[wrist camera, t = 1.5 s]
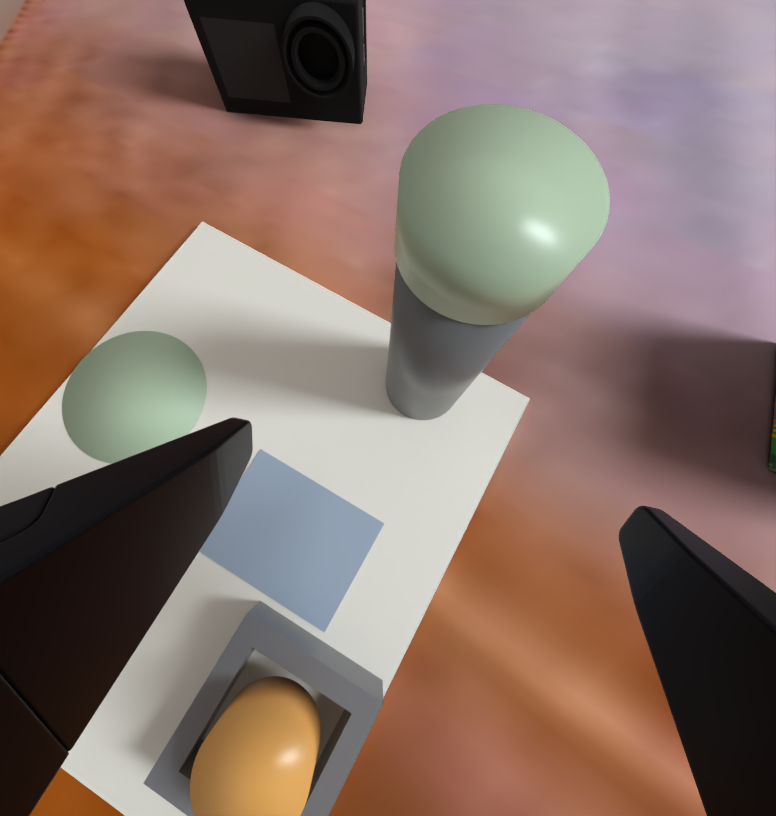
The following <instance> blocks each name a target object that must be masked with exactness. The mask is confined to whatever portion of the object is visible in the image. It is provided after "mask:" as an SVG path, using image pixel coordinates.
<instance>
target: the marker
mask: <svg viewBox="0 0 776 816" xmlns="http://www.w3.org/2000/svg"><path fill="white" fill-rule="evenodd" d="M609 208H610V195H609V187H608V183H607V180H606V176H605V174H604V172H603V169H602V167H601V165H600V163H599V162H598V160H597V158H596V156H595V155H594V154H593V152H592V151H591V150H590V148H589V147H588V146H587V145H586V144H585V143H584V142H583V141H582V140H581V139H580V138H579V137H578V136H577V135H576V134H574V133H573V132H572V131H571V130H570V129H568V128H567V127H565V126H564V125H562V124H560V123H559V122H557V121H555V120H553V119H551V118H549V117H548V116H545V115H543V114H540V113H538V112H535V111H532V110H528V109H525V108H521V107H515V106H510V105H499V104H484V105H476V106H469V107H465V108H461V109H457V110H455V111H452V112H449V113H447V114H445V115H443V116H441V117H439V118H437V119H435V120H434V121H432V122H431V123H429V124H428V125H427V126H426V127H424V128H423V129H422V130H421V131H420V132H419V133H418V134H417V135H416V137H415V138H414V139H413V140H412V142H411V143H410V145H409V147H408V148H407V150H406V152H405V155H404V157H403V159H402V163H401V167H400V173H399V187H398V201H397V214H396V228H395V241H394V250H395V258H396V271H395V282H394V294H393V305H392V317H391V328H390V339H389V351H388V362H387V373H386V391H387V395H388V398H389V400H390V402H391V403H392V405H393V406H394V407H395V408H396V409H397V410H398V411H399V412H400V413H402V414H403V415H405V416H407V417H409V418H412V419H416V420H431V419H435V418H438V417H440V416H442V415H443V414H445V413H446V412H447V411H448V410H450V408H451V407H452V406H453V405H454V404H455V402H456V401H457V400H458V399H459V398H460V397H461V395H462V394H463V393H464V392H465V391H466V389H467V388H468V387H469V386H470V385H471V383H472V382H473V381H474V380H475V379H476V378H477V376H478V375H479V374H480V373H481V372H482V370H483V369H484V368H485V367H486V366H487V364H488V363H489V362H490V361H491V360H492V359H493V357H494V356H495V355H496V354H497V353H498V351H499V350H500V349H501V348H502V347H503V345H504V344H505V343H506V342H507V341H508V340H509V338H510V337H511V336H512V335H513V334H514V332H515V331H516V330H517V329H518V328H519V326H520V325H521V324H522V323H523V322H524V321H525V319H526V318H527V317H528V316H529V315H530V313H532V312H533V311H535V310H536V309H538V308H539V307H540V306H541V305H542V304H543V303H545V301H546V300H547V299H548V298H549V297H550V296H551V294H552V293H553V292H554V291H555V290H556V289H557V288H558V286H559V285H560V284H561V283H562V282H563V281H564V279H565V278H566V277H567V276H568V275H569V274H570V273H571V271H572V270H573V269H574V268H575V267H576V266H577V264H578V263H579V262H580V261H581V260H582V259H583V258H584V256H585V255H586V254H587V253H588V252H589V251H590V249H591V248H592V247H593V246H594V245H595V244H596V242H597V241H598V239H599V238H600V236H601V234H602V233H603V230H604V228H605V225H606V223H607V219H608V215H609Z"/></svg>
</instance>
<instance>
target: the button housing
mask: <svg viewBox="0 0 776 816" xmlns="http://www.w3.org/2000/svg"><path fill="white" fill-rule="evenodd" d="M255 649H256V650H257V651H259V652H260V653H262V654H263V655H265V656H266V657H268V658H269V659H271V660H272V661H274V662H275V663H277V664H278V665H280V666H281V667H283V668H284V669H286V670H287V671H289V672H290V673H292V674H293V675H295V676H296V677H298V678H299V679H301V680H302V681H304V682H305V683H307V684H308V685H310V686H311V687H313V688H314V689H316V690H317V691H319V692H320V693H322V694H323V695H325V696H326V697H328V698H329V699H331V700H332V701H334V702H335V703H337V704H338V705H340V706H341V707H343V708H344V711H343V713H342V715H341V717H340V719H339V721H338V723H337V725H336V726H335V728H334V730H333V732H332V734H331V736H330V738H329V740H328V742H327V744H326V746H325V748H324V750H323V752H322V754H321V756H320V758H319V760H318V762H317V764H316V766H315V768H314V772H313V777H312V781H311V786H310V790H309V795H308V798H307V801H306V804H305V807H304V809H303V811H302V814H301V815H300V816H328V815H329V813H330V811H331V809H332V807H333V805H334V803H335V801H336V799H337V797H338V795H339V793H340V791H341V789H342V787H343V785H344V782H345V780H346V778H347V776H348V774H349V772H350V770H351V768H352V766H353V764H354V762H355V760H356V758H357V756H358V754H359V752H360V750H361V748H362V746H363V744H364V742H365V740H366V737H367V735H368V733H369V731H370V729H371V727H372V725H373V723H374V721H375V719H376V717H377V715H378V713H379V711H380V709H381V707H382V705H383V680H382V679H380V678H378V677H377V676H375V675H374V674H372V673H371V672H369V671H368V670H366V669H365V668H363V667H362V666H360V665H358V664H357V663H355V662H354V661H352V660H351V659H349V658H348V657H346V656H345V655H343V654H342V653H340V652H338V651H337V650H335V649H334V648H332V647H331V646H329V645H328V644H326V643H325V642H323V641H322V640H320V639H318V638H317V637H315V636H314V635H312V634H311V633H309V632H308V631H306V630H305V629H303V628H302V627H300V626H298V625H297V624H295V623H294V622H292V621H291V620H289V619H288V618H286V617H285V616H283V615H282V614H280V613H278V612H277V611H275V610H274V609H272V608H271V607H269V606H268V605H266V604H265V603H263V602H262V601H260V602H259V603H258V604H256V605H255V606H254V607H253V608H252V609H251V610H250V611H249V612H247V614H246V615H245V617H244V619H243V620H242V622H241V623H240V625H239V627H238V628H237V630H236V632H235V633H234V635H233V637H232V638H231V640H230V642H229V643H228V645H227V646H226V648H225V650H224V651H223V653H222V655H221V656H220V658H219V660H218V661H217V663H216V665H215V666H214V668H213V669H212V671H211V673H210V674H209V676H208V678H207V679H206V681H205V683H204V684H203V686H202V688H201V689H200V691H199V692H198V694H197V696H196V697H195V699H194V701H193V702H192V704H191V706H190V707H189V709H188V711H187V712H186V714H185V715H184V717H183V719H182V720H181V722H180V724H179V725H178V727H177V729H176V730H175V732H174V734H173V735H172V737H171V738H170V740H169V742H168V743H167V745H166V747H165V748H164V750H163V752H162V753H161V755H160V757H159V758H158V760H157V761H156V763H155V765H154V766H153V768H152V770H151V771H150V773H149V775H148V776H147V778H146V780H145V781H144V783H143V784H145V785H146V786H147V787H149V788H150V789H152V790H153V791H154V792H156V793H157V794H158V795H160V796H161V797H162V798H164V799H165V800H166V801H168V802H169V803H171V804H172V805H173V806H175V807H176V808H177V809H179V810H180V811H181V812H183V813H184V814H186V815H187V816H194V813H193V810H192V805H191V800H190V779H191V773H192V768H193V764H194V761H195V758H196V756H197V753H198V751H199V749H200V747H201V745H202V743H203V742H204V741H203V740H201V739H202V738H203V736H204V734H205V733H206V731H207V729H208V728H209V726H210V724H211V722H212V721H213V719H214V717H215V716H216V714H217V712H218V711H219V709H220V707H221V706H222V704H223V702H224V700H225V699H226V697H227V695H228V694H229V692H230V690H231V689H232V687H233V685H234V683H235V682H236V680H237V678H238V677H239V675H240V673H241V672H242V670H243V668H244V666H245V665H246V663H247V661H248V660H249V658H250V656H251V655H252V653H253V651H254V650H255Z"/></svg>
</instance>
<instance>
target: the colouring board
mask: <svg viewBox="0 0 776 816" xmlns="http://www.w3.org/2000/svg"><path fill="white" fill-rule="evenodd" d="M390 328H391V323H389V322H387V321H385V320H384V319H382V318H380V317H378V316H376V315H374V314H373V313H371V312H369V311H367V310H365V309H363V308H361V307H360V306H358V305H356V304H354V303H352V302H350V301H348V300H347V299H345V298H343V297H341V296H339V295H337V294H336V293H334V292H332V291H330V290H328V289H326V288H324V287H323V286H321V285H319V284H317V283H315V282H313V281H311V280H310V279H308V278H306V277H304V276H302V275H300V274H299V273H297V272H295V271H293V270H291V269H289V268H287V267H286V266H284V265H282V264H280V263H278V262H276V261H274V260H273V259H271V258H269V257H267V256H265V255H263V254H262V253H260V252H258V251H256V250H254V249H252V248H250V247H249V246H247V245H245V244H243V243H241V242H239V241H237V240H236V239H234V238H232V237H230V236H228V235H226V234H225V233H223V232H221V231H219V230H217V229H215V228H213V227H212V226H210V225H208V224H206V223H204V222H202V223H201V224H200V225H199V226H198V227H197V228H196V230H195V231H194V232H193V233H192V234H191V235H190V237H189V238H188V239H187V240H186V241H185V242H184V243H183V245H182V246H181V247H180V248H179V249H178V250H177V252H176V253H175V254H174V255H173V256H172V257H171V259H170V260H169V261H168V262H167V263H166V264H165V266H164V267H163V268H162V269H161V270H160V271H159V272H158V274H157V275H156V276H155V277H154V278H153V279H152V281H151V282H150V283H149V284H148V285H147V286H146V288H145V289H144V290H143V291H142V292H141V293H140V295H139V296H138V297H137V298H136V299H135V300H134V301H133V303H132V304H131V305H130V306H129V307H128V308H127V310H126V311H125V312H124V313H123V314H122V315H121V317H120V318H119V319H118V320H117V321H116V322H115V324H114V325H113V326H112V327H111V328H110V329H109V330H108V332H107V333H106V334H105V335H104V336H103V337H102V339H101V340H100V341H99V342H98V343H97V344H96V346H95V347H94V348H93V349H92V350H91V351H90V352H89V353H88V354H87V355H86V356H85V357H84V358H83V359H82V360H81V361H80V362H79V364H78V365H77V366H76V368H75V369H74V371H73V372H72V373H71V375H70V376H69V377H68V378H67V379H66V380H65V382H64V383H63V384H62V385H61V386H60V387H59V388H58V390H57V391H56V392H55V393H54V394H53V395H52V397H51V398H50V399H49V400H48V401H47V402H46V404H45V405H44V406H43V407H42V408H41V409H40V411H39V412H38V413H37V414H36V415H35V416H34V417H33V419H32V420H31V421H30V422H29V423H28V424H27V426H26V427H25V428H24V429H23V430H22V431H21V433H20V434H19V435H18V436H17V437H16V438H15V440H14V441H13V442H12V443H11V444H10V445H9V446H8V448H7V449H6V450H5V451H4V452H3V453H2V455H1V456H0V506H2V505H5V504H8V503H10V502H13V501H16V500H18V499H21V498H24V497H27V496H29V495H32V494H34V493H37V492H39V491H42V490H45V489H47V488H50V487H54V488H55V487H56V485H58V484H60V483H63V482H66V481H68V480H71V479H73V478H76V477H78V476H81V475H84V474H86V473H89V472H91V471H94V470H97V469H99V468H102V467H104V466H107V465H110V464H112V463H115V462H117V461H120V460H123V459H125V458H128V457H130V456H133V455H136V454H138V453H141V452H143V451H146V450H149V449H151V448H154V447H156V446H159V445H161V444H164V443H167V442H169V441H172V440H174V439H177V438H180V437H182V436H185V435H187V434H190V433H193V432H195V431H198V430H200V429H203V428H205V427H208V426H211V425H213V424H216V423H218V422H221V421H224V420H226V419H229V418H232V417H235V418H240V419H245V420H249V421H250V422H251V424H252V442H253V451H252V456H251V458H250V461H249V463H248V465H247V467H246V469H245V471H244V473H243V475H242V477H241V479H240V481H239V483H238V485H237V487H236V489H235V491H234V493H233V495H232V497H231V499H230V501H229V503H228V505H227V507H226V509H225V511H224V513H223V514H222V516H221V518H220V519H219V521H218V523H217V524H216V526H215V527H214V529H213V531H212V532H211V534H210V535H209V537H208V538H207V540H206V541H205V543H204V545H203V546H202V548H201V549H200V551H199V552H198V554H197V555H196V557H195V559H194V560H193V562H192V563H191V565H190V566H189V568H188V569H187V571H186V573H185V574H184V576H183V577H182V579H181V580H180V582H179V583H178V585H177V586H176V588H175V590H174V591H173V593H172V594H171V596H170V597H169V599H168V600H167V602H166V604H165V605H164V607H163V608H162V610H161V611H160V613H159V614H158V616H157V618H156V619H155V621H154V622H153V624H152V625H151V627H150V628H149V630H148V632H147V633H146V635H145V636H144V638H143V639H142V641H141V642H140V644H139V646H138V647H137V649H136V650H135V652H134V653H133V655H132V656H131V658H130V659H129V661H128V663H127V664H126V666H125V667H124V669H123V670H122V672H121V673H120V675H119V677H118V678H117V680H116V681H115V683H114V684H113V686H112V687H111V689H110V691H109V692H108V694H107V695H106V697H105V698H104V700H103V701H102V703H101V705H100V706H99V708H98V709H97V711H96V712H95V714H94V715H93V717H92V719H91V720H90V722H89V723H88V725H87V726H86V728H85V729H84V731H83V733H82V734H81V736H80V737H79V739H78V740H77V742H76V743H75V745H74V746H73V748H72V749H71V750H70V751H68V752H69V755H68V756H67V758H66V759H65V761H64V763H63V764H62V766H61V768H62V769H64V770H65V771H66V772H68V773H69V774H70V775H72V776H73V777H74V778H76V779H77V780H78V781H80V782H81V783H82V784H84V785H85V786H86V787H88V788H89V789H90V790H92V791H93V792H94V793H96V794H97V795H98V796H100V797H101V798H102V799H104V800H105V801H106V802H108V803H109V804H110V805H112V806H113V807H114V808H116V809H117V810H118V811H120V812H121V813H122V814H124V815H125V816H187V815H186V814H184V813H183V812H181V811H180V810H179V809H177V808H176V807H175V806H173V805H172V804H171V803H169V802H168V801H166V800H165V799H164V798H162V797H161V796H160V795H158V794H157V793H156V792H154V791H153V790H152V789H150V788H149V787H147V786H146V785H145V784H143V783H144V781H145V780H146V778H147V776H148V775H149V773H150V771H151V770H152V768H153V766H154V765H155V763H156V761H157V760H158V758H159V757H160V755H161V753H162V752H163V750H164V748H165V747H166V745H167V743H168V742H169V740H170V738H171V737H172V735H173V734H174V732H175V730H176V729H177V727H178V725H179V724H180V722H181V720H182V719H183V717H184V715H185V714H186V712H187V711H188V709H189V707H190V706H191V704H192V702H193V701H194V699H195V697H196V696H197V694H198V692H199V691H200V689H201V688H202V686H203V684H204V683H205V681H206V679H207V678H208V676H209V674H210V673H211V671H212V669H213V668H214V666H215V665H216V663H217V661H218V660H219V658H220V656H221V655H222V653H223V651H224V650H225V648H226V646H227V645H228V643H229V642H230V640H231V638H232V637H233V635H234V633H235V632H236V630H237V628H238V627H239V625H240V623H241V622H242V620H243V619H244V617H245V615H246V614H247V612H249V611H250V610H251V609H252V608H253V607H254V606H255V605H256V604H258V603H259V602H260V601H262V602H263V603H265V604H266V605H268V606H269V607H271V608H272V609H274V610H275V611H277V612H278V613H280V614H282V615H283V616H285V617H286V618H288V619H289V620H291V621H292V622H294V623H295V624H297V625H298V626H300V627H302V628H303V629H305V630H306V631H308V632H309V633H311V634H312V635H314V636H315V637H317V638H318V639H320V640H322V641H323V642H325V643H326V644H328V645H329V646H331V647H332V648H334V649H335V650H337V651H338V652H340V653H342V654H343V655H345V656H346V657H348V658H349V659H351V660H352V661H354V662H355V663H357V664H358V665H360V666H362V667H363V668H365V669H366V670H368V671H369V672H371V673H372V674H374V675H375V676H377V677H378V678H380V679H382V680H383V697H384V695H385V693H386V691H387V689H388V687H389V685H390V683H391V681H392V679H393V677H394V675H395V673H396V671H397V669H398V667H399V664H400V662H401V660H402V658H403V656H404V654H405V652H406V650H407V648H408V646H409V644H410V642H411V640H412V638H413V636H414V634H415V632H416V630H417V628H418V626H419V624H420V622H421V620H422V618H423V616H424V614H425V612H426V609H427V607H428V605H429V603H430V601H431V599H432V597H433V595H434V593H435V591H436V589H437V587H438V585H439V583H440V581H441V579H442V577H443V575H444V573H445V571H446V569H447V567H448V565H449V563H450V561H451V559H452V556H453V554H454V552H455V550H456V548H457V546H458V544H459V542H460V540H461V538H462V536H463V534H464V532H465V530H466V528H467V526H468V524H469V522H470V520H471V518H472V516H473V514H474V512H475V510H476V508H477V506H478V503H479V501H480V499H481V497H482V495H483V493H484V491H485V489H486V487H487V485H488V483H489V481H490V479H491V477H492V475H493V473H494V471H495V469H496V467H497V465H498V463H499V461H500V459H501V457H502V455H503V453H504V450H505V448H506V446H507V444H508V442H509V440H510V438H511V436H512V434H513V432H514V430H515V428H516V426H517V424H518V422H519V420H520V418H521V416H522V414H523V412H524V410H525V408H526V406H527V404H528V402H529V400H530V398H528V397H526V396H524V395H522V394H520V393H519V392H517V391H515V390H513V389H511V388H509V387H508V386H506V385H504V384H502V383H500V382H498V381H496V380H495V379H493V378H491V377H489V376H487V375H485V374H483V373H482V372H481V373H480V374H479V375H478V376H477V378H476V379H475V380H474V381H473V382H472V383H471V385H470V386H469V387H468V388H467V389H466V391H465V392H464V393H463V394H462V395H461V397H460V398H459V399H458V400H457V401H456V402H455V404H454V405H453V406H452V407H451V408H450V410H448V411H447V412H446V413H445V414H443V415H442V416H440V417H438V418H435V419H431V420H416V419H412V418H409V417H407V416H405V415H403V414H402V413H400V412H399V411H398V410H397V409H396V408H395V407H394V406H393V405H392V403H391V402H390V400H389V398H388V395H387V391H386V373H387V362H388V351H389V339H390ZM270 676H281V677H286V678H289V679H291V680H294V681H296V682H297V683H299V684H300V685H301V686H303V687H304V688H305V689H306V690H307V691H308V692H309V694H310V695H311V696H312V698H313V700H314V702H315V704H316V706H317V709H318V712H319V716H320V721H321V740H320V746H319V750H318V755H317V759H316V764H317V762H318V760H319V758H320V756H321V754H322V752H323V750H324V748H325V746H326V744H327V742H328V740H329V738H330V736H331V734H332V732H333V730H334V728H335V726H336V725H337V723H338V721H339V719H340V717H341V715H342V713H343V711H344V708H343V707H341V706H340V705H338V704H337V703H335V702H334V701H332V700H331V699H329V698H328V697H326V696H325V695H323V694H322V693H320V692H319V691H317V690H316V689H314V688H313V687H311V686H310V685H308V684H307V683H305V682H304V681H302V680H301V679H299V678H298V677H296V676H295V675H293V674H292V673H290V672H289V671H287V670H286V669H284V668H283V667H281V666H280V665H278V664H277V663H275V662H274V661H272V660H271V659H269V658H268V657H266V656H265V655H263V654H262V653H260V652H259V651H257V650H256V649H255V650H254V651H253V653H252V655H251V656H250V658H249V660H248V661H247V663H246V665H245V666H244V668H243V670H242V672H241V673H240V675H239V677H238V678H237V680H236V682H235V683H234V685H233V687H232V689H231V690H230V692H229V694H228V695H227V697H226V699H225V700H224V702H223V704H222V706H221V707H220V709H219V711H218V712H217V714H216V716H215V717H214V719H213V721H212V722H211V724H210V726H209V728H208V729H207V731H206V733H205V734H204V736H203V738H202V739H201V740H203V741H204V740H205V739H206V737H207V736H208V734H209V733H210V731H211V730H212V729H213V727H214V726H215V724H216V723H217V721H218V720H219V719H220V717H221V716H222V714H223V713H224V712H225V710H226V709H227V707H228V706H229V704H230V703H231V702H232V700H233V699H234V698H235V696H236V695H237V694H238V693H239V692H240V691H241V690H242V689H243V688H245V687H246V686H247V685H249V684H250V683H252V682H254V681H256V680H258V679H261V678H265V677H270ZM316 764H315V766H316Z"/></svg>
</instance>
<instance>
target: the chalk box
mask: <svg viewBox="0 0 776 816" xmlns="http://www.w3.org/2000/svg"><path fill="white" fill-rule="evenodd" d="M768 468H769V469H770V470H771V471H773V472H775V473H776V397H775V407H774V419H773V430H772V440H771V453H770V459H769V465H768Z"/></svg>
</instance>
